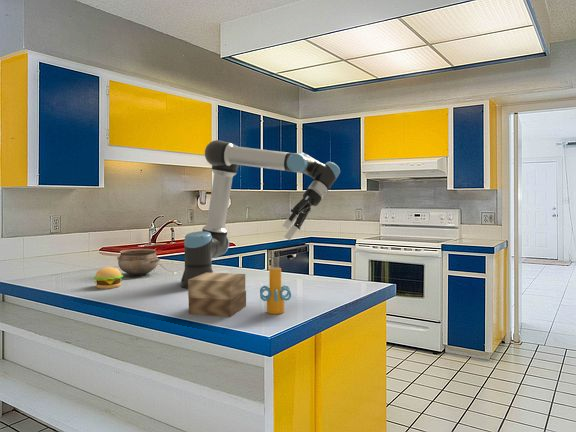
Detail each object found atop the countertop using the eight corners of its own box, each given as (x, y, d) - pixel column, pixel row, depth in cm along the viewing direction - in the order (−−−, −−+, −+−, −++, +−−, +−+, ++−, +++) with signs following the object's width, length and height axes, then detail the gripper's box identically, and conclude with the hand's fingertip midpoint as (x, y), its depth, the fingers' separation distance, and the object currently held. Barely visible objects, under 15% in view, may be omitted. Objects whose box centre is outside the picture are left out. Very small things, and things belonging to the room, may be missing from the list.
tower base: (188, 315, 154) (188, 297, 153) (207, 304, 168) (207, 288, 168) (230, 318, 150) (230, 299, 150) (246, 307, 164) (246, 290, 164)
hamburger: (128, 285, 204) (128, 265, 204) (111, 290, 193) (111, 270, 192) (105, 283, 207) (105, 264, 207) (87, 288, 196) (87, 268, 196)
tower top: (188, 297, 153) (188, 279, 153) (206, 288, 168) (206, 272, 168) (230, 299, 150) (230, 281, 149) (245, 290, 164) (245, 273, 164)
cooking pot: (170, 273, 234) (170, 249, 233) (147, 280, 216) (146, 254, 215) (130, 270, 242) (130, 247, 242) (104, 276, 225) (104, 252, 224)
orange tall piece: (259, 308, 161) (259, 265, 161) (289, 307, 162) (288, 265, 162) (260, 317, 149) (260, 271, 148) (292, 316, 150) (292, 271, 149)
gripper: (323, 185, 180) (292, 227, 174) (321, 209, 204) (294, 247, 198) (307, 175, 182) (276, 217, 176) (307, 201, 205) (280, 238, 199)
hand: (286, 233), depth 187 cm, fingers open, 13 cm apart
